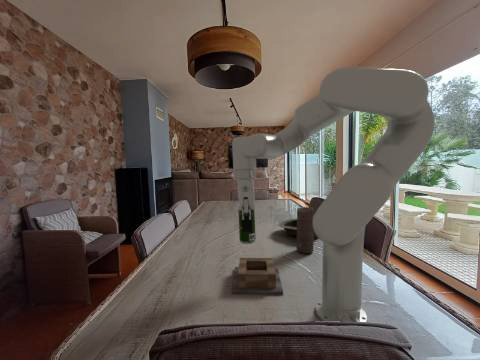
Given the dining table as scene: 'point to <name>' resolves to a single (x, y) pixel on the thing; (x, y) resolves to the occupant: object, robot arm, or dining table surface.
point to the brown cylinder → (305, 229)
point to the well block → (256, 277)
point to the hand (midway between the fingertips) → (247, 228)
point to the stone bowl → (291, 227)
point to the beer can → (246, 236)
